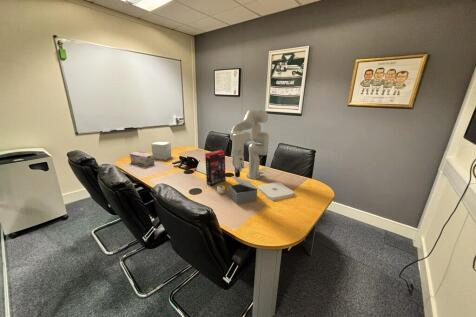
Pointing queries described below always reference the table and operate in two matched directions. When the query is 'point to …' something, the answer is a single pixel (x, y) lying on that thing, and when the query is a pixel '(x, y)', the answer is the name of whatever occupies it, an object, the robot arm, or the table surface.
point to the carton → (242, 193)
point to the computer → (275, 191)
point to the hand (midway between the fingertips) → (237, 176)
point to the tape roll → (221, 189)
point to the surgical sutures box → (142, 159)
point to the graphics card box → (215, 167)
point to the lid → (244, 183)
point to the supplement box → (161, 150)
